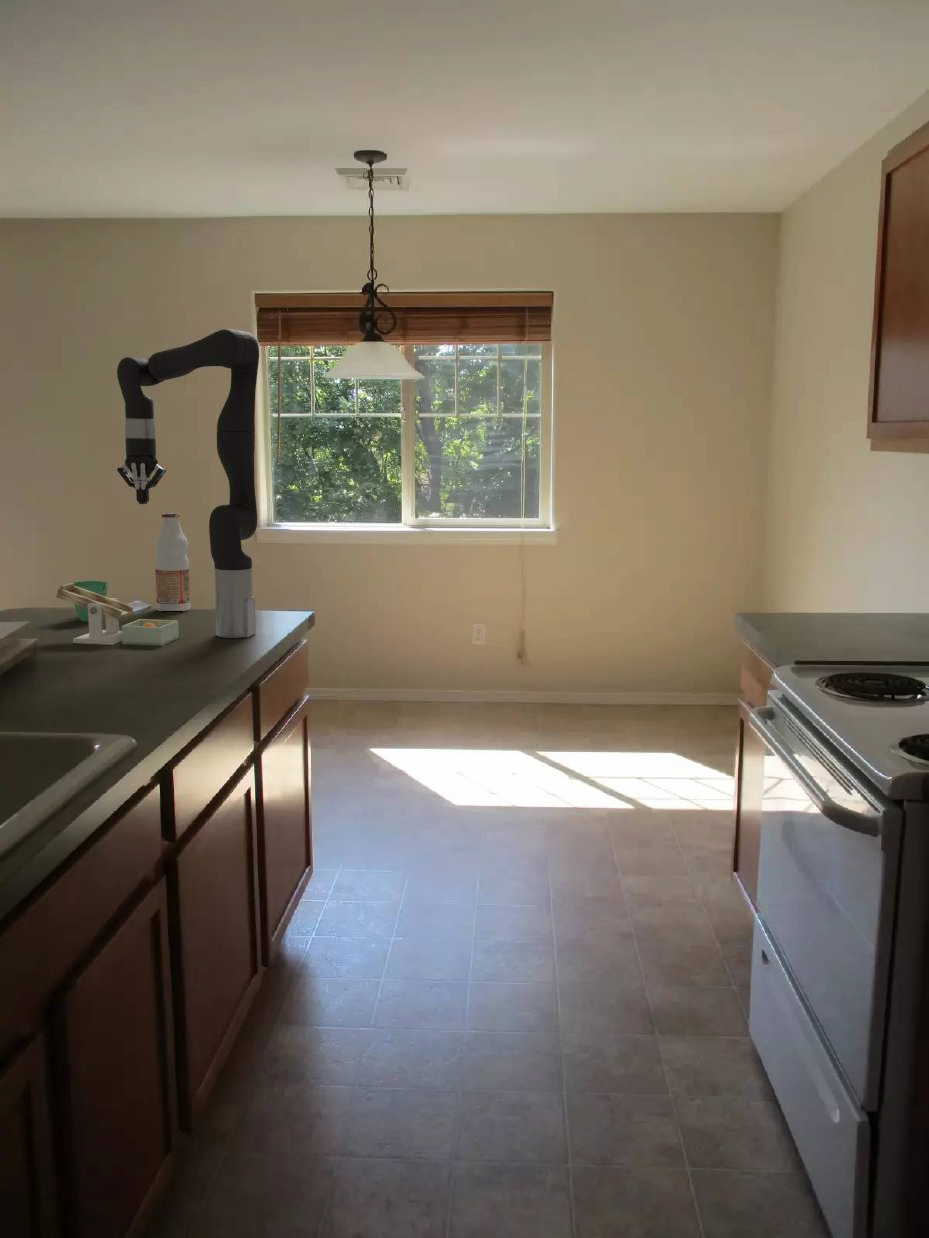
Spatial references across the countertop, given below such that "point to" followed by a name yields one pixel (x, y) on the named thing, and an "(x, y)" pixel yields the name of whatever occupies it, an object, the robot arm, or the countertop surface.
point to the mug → (91, 586)
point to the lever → (100, 601)
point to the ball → (149, 625)
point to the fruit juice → (172, 566)
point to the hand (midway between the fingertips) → (142, 503)
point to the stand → (100, 628)
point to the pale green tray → (150, 632)
